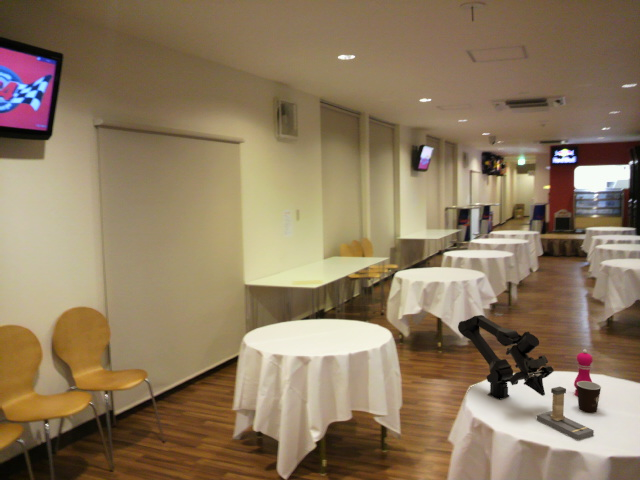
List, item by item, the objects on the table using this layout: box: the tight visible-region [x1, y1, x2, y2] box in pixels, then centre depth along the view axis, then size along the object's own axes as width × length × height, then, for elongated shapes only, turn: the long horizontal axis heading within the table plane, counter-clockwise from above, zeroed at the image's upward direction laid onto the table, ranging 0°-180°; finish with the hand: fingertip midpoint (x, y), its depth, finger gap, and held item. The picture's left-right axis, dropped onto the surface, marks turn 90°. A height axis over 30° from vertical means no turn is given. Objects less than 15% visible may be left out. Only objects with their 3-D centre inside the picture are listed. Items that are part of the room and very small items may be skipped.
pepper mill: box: [573, 349, 594, 397], centre depth 222 cm, size 7×7×20 cm
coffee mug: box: [577, 381, 602, 414], centre depth 209 cm, size 12×9×10 cm
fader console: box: [536, 410, 595, 441], centre depth 193 cm, size 18×8×2 cm, turn 25°
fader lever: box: [550, 386, 567, 421], centre depth 195 cm, size 3×5×12 cm, turn 115°
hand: (543, 395), depth 201 cm, fingers closed
